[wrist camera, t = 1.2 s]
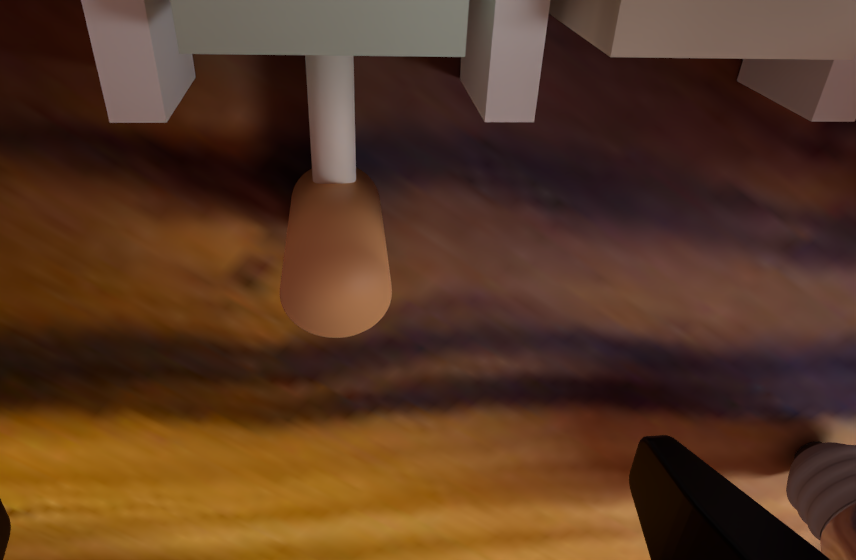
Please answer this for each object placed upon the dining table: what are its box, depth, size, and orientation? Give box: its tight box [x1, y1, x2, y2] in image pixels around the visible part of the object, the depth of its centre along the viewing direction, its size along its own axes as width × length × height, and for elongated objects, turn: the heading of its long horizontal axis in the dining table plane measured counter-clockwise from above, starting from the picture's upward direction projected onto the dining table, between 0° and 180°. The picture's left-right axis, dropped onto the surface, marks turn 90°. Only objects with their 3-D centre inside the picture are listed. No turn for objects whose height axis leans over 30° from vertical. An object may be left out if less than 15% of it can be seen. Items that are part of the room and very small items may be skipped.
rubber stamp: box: [170, 0, 469, 338], centre depth 13 cm, size 10×4×4 cm, turn 178°
